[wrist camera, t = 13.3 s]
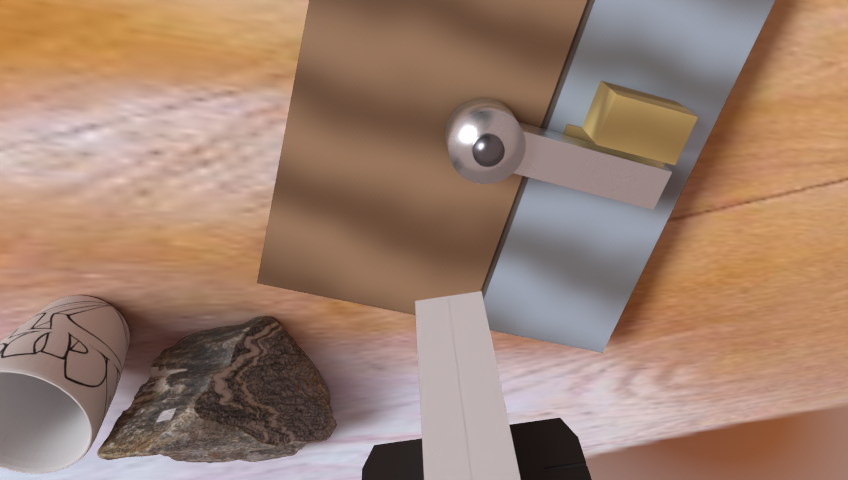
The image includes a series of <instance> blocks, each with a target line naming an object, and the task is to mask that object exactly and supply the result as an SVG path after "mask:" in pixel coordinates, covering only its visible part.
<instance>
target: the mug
mask: <svg viewBox="0 0 848 480" xmlns="http://www.w3.org/2000/svg"><path fill="white" fill-rule="evenodd" d="M129 342H130V332H129V328H128V325H127V323H126V321H125V319H124V318H123V316H122V315H121V314H120V313H119V312H118V311H117V310H116V309H115V308H114V307H113V306H111V305H110V304H108V303H106V302H104V301H102V300H100V299H97V298H94V297H90V296H82V295H74V296H68V297H64V298H61V299H59V300H56V301H54V302H53V303H51V304H50V305H48V306H47V307H45V308H44V309H42V310H41V311H40V312H38V313H37V314H36V315H34V316H33V317H32V318H30V319H29V320H27V321H26V322H25V323H23V324H22V325H21V326H19V327H18V328H17V329H15V330H14V331H13V332H12V333H10V334H9V335H8V336H7V337H5V338H4V339H3V340H2V341H1V342H0V467H1V468H4V469H8V470H12V471H16V472H22V473H49V472H54V471H58V470H62V469H64V468H67V467H69V466H71V465H73V464H74V463H76V462H77V461H79V460H80V459H81V458H82V457H83V456H84V455H85V454H86V453H87V452H88V450H89V449H90V447H91V446H92V444H93V442H94V440H95V438H96V436H97V434H98V432H99V429H100V427H101V425H102V423H103V420H104V418H105V416H106V413H107V411H108V409H109V407H110V404H111V402H112V400H113V397H114V395H115V392H116V389H117V386H118V383H119V380H120V377H121V373H122V369H123V366H124V362H125V358H126V355H127V351H128V347H129Z"/></svg>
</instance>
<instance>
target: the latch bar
mask: <svg viewBox="0 0 848 480" xmlns="http://www.w3.org/2000/svg"><path fill="white" fill-rule="evenodd" d="M445 138H446V143H447V147H448V151H449V156H450V159H451V162H452V164H453V167H454V168H455V170H456V171H457V172H458V173H459V174H460V175H461V176H462V177H464V178H465V179H467V180H469V181H471V182H474V183H478V184H492V183H496V182H499V181H502V180H504V179H506V178H507V177H509V176H510V175H511V174H513V173H515V174H518V175H522V176H526V177H530V178H534V179H537V180H541V181H545V182H549V183H553V184H557V185H560V186H564V187H568V188H572V189H576V190H579V191H583V192H587V193H591V194H595V195H598V196H602V197H606V198H610V199H614V200H618V201H621V202H625V203H629V204H633V205H637V206H640V207H644V208H648V209H652V210H654V208H655V206H656V204H657V202H658V200H659V198H660V196H661V194H662V192H663V190H664V188H665V186H666V184H667V182H668V180H669V178H670V176H671V174H672V171H670V170H669V169H668V168H667V167H666V166H665V165H664V164H663V163H662V162H661V161H657V160H653V159H649V158H645V157H641V156H638V155H634V154H630V153H626V152H622V151H618V150H614V149H611V148H607V147H603V146H599V145H596V144H595V143H593V142H589V141H585V140H582V139H578V138H574V137H571V136H567V135H564V134H560V133H556V132H553V131H549V130H546V129H542V128H538V127H535V126H531V125H528V124H524V123H520V122H517V120H516V118H515V117H514V115H513V113H512V111H511V110H510V109H509V108H508V107H507V106H506V105H505V104H503V103H502V102H500V101H498V100H496V99H493V98H488V97H478V98H473V99H470V100H468V101H466V102H464V103H462V104H461V105H460V106H458V107H457V108H456V109H455V110H454V111H453V113H452V114H451V116H450V118H449V119H448V122H447V125H446V131H445Z"/></svg>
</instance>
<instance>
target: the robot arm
mask: <svg viewBox="0 0 848 480" xmlns="http://www.w3.org/2000/svg"><path fill="white" fill-rule="evenodd" d="M415 309H416V329H417V348H418V368H419V388H420V408H421V428H422V439H416V440H409V441H401V442H394V443H387V444H380V445H374V447H373V449H372V451H371V453H370V455H369V457H368V459H367V461H366V463H365V465H364V467H363V469H362V480H591V476H590V473H589V470H588V467H587V466H586V461H585V458H584V455H583V452H582V449H581V445H580V442H579V439H578V437H577V436H576V435H575V434H574V433H573V431H572V430H571V429H570V428H569V427H568V426H567V425H566V424H565V423H564V422H563V421H562V419H561V418H555V419H548V420H541V421H533V422H526V423H519V424H512V425H509V421H508V416H507V411H506V407H505V402H504V397H503V392H502V387H501V382H500V378H499V373H498V368H497V363H496V358H495V354H494V349H493V344H492V339H491V334H490V330H489V325H488V320H487V315H486V310H485V306H484V301H483V296H482V291H479V292H472V293H465V294H459V295H452V296H445V297H438V298H432V299H425V300H418V301H415Z"/></svg>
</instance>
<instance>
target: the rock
mask: <svg viewBox="0 0 848 480" xmlns="http://www.w3.org/2000/svg"><path fill="white" fill-rule="evenodd" d="M150 373H151V377H150V378H149V380H148V382H147V383H146V384H143V385H142V386H141V387H140V389H139V391H138V393H137V394H136V395H135V397H134V401H133V402H132V405H131V406H130V407H129V408H128V409H127V410H125V411H123V412H122V414H121V416H120V417H119V418H118V419H117V421H116V423H115V425H114V427H113V429H112V431H111V432H110V434H109V436H108V438H107V439H106V440H105V442H104V443H103V444H102V446H101V447H100V448H99V450H98V453H97V455H98V456H99V457H100V458H103V459H107V460H112V459H118V458H124V457H133V456H151V455H158V454H161V455H163V456H169V457H170V458H172V459H174V460H176V461H186V462H208V463H212V462H228V461H234V460H238V459H239V460H243V461H249V462H257V461H263V460H268V459H274V458H280V457H285V456H292V455H294V454H296V453H297V452H298V450H300V449H302V448H303V447H304V446H305V445H306V443H313V442H322V441H325V440H327V439H328V438H329V437H330V436H331V434H332V432H333V430H334V429H335V428H336V425H337V424H336V421H335V419H334V417H333V413H332V409H331V407H330V394H329V391H328V388H327V386H326V384H325V383H324V382H323V380H322V379H321V377H320V374H319V372H318V370H317V368H316V367H315V365H314V364H313V363H312V361H311V360H310V359H309V358H308V356H306V355H305V353H304V352H303V351H302V350H301V349H300V348H299V347H298V346H297V344H296V342H295V341H294V339H293V338H291V337H290V336H289V335H288V333H287V331H286V330H285V329H284V328H283V327H282V326H281V325H280V324H279V323H278V322H277V321H276V320H275V319H273V318H263V317H256V318H253V319H252V320H250V321H249V322H246V323H244V324H241V325H236V326H227V327H220V328H215V329H212V330H206V331H200V332H197V333H195V334H192V335H189V336H187V337H185V338H184V339H182V340H181V341H179V342H178V343H177V344H176V345H175V346H174V347H171V348H168V349H165V350H164V351H163V352H162V353H161V355H160V356H159V357H158V358H157V359H156V360H154V362H153V364H152V366H151V368H150Z"/></svg>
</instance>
